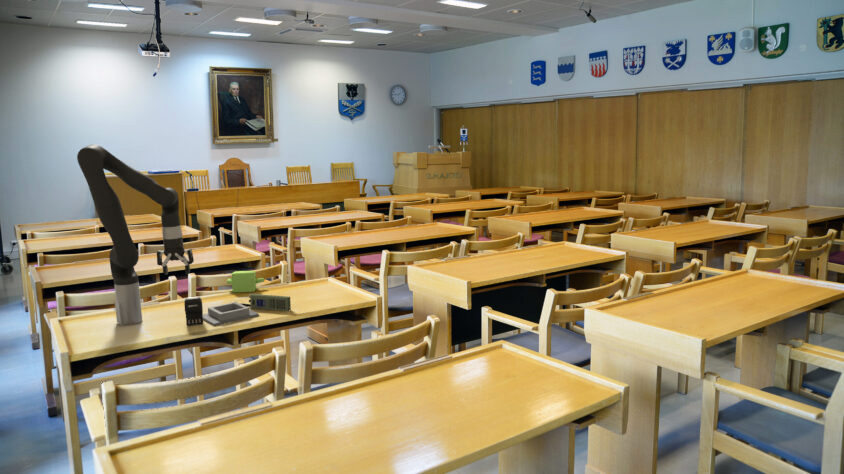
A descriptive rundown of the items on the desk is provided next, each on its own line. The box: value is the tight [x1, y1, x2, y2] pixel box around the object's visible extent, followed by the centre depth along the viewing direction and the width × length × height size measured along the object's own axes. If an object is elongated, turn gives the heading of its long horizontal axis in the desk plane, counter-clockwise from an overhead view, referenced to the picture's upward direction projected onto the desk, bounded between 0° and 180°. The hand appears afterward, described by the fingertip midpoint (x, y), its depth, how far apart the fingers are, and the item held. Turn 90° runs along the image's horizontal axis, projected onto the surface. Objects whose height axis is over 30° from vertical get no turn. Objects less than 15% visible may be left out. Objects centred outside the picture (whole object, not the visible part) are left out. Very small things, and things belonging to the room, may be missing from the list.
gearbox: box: [226, 270, 265, 293], centre depth 314 cm, size 18×10×10 cm, turn 99°
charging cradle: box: [203, 301, 260, 327], centre depth 270 cm, size 20×16×4 cm
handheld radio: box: [240, 293, 292, 312], centre depth 281 cm, size 7×3×25 cm
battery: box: [183, 296, 204, 326], centre depth 260 cm, size 7×4×11 cm, turn 107°
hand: (177, 274), depth 263 cm, fingers open, 8 cm apart
